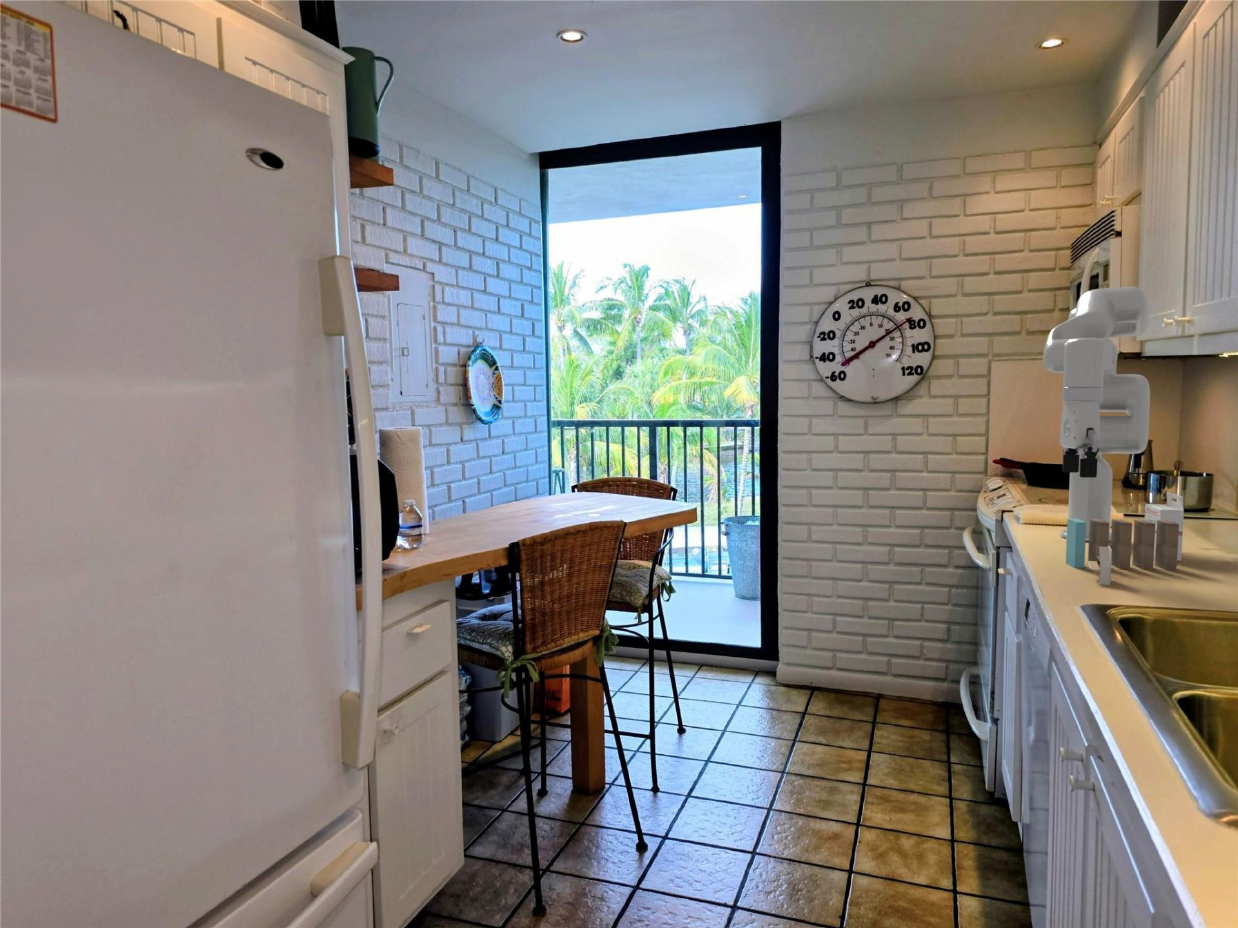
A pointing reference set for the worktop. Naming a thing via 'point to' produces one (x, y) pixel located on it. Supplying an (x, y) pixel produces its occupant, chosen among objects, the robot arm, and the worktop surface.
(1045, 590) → the worktop surface
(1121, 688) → the worktop surface
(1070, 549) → the domino
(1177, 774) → the worktop surface
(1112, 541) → the domino
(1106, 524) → the domino
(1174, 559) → the domino
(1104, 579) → the architectural model
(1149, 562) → the domino
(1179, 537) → the ink cartridge box
